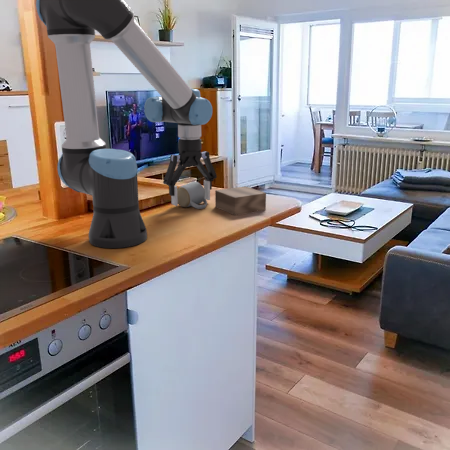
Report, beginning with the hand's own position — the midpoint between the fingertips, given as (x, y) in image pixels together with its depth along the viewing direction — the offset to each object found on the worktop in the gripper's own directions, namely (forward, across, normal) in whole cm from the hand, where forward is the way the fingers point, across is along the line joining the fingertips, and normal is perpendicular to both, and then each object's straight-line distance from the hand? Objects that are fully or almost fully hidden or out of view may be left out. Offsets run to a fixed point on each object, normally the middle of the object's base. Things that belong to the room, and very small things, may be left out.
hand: (191, 202), depth 162 cm
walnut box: (+1, -11, +13) cm, 17 cm away
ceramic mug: (+1, 0, +1) cm, 2 cm away
